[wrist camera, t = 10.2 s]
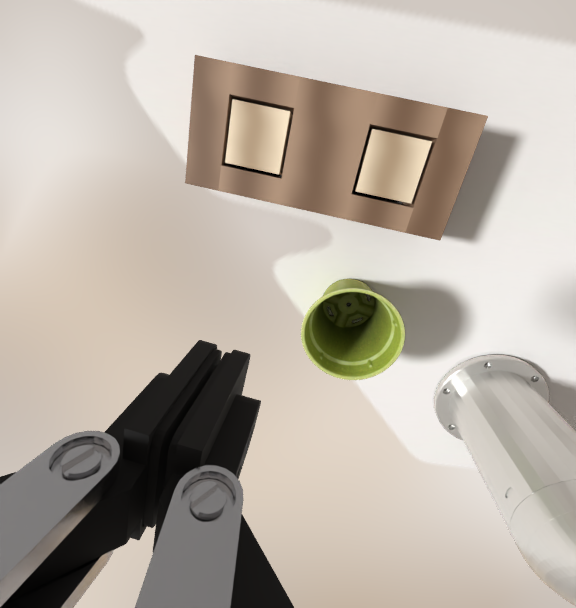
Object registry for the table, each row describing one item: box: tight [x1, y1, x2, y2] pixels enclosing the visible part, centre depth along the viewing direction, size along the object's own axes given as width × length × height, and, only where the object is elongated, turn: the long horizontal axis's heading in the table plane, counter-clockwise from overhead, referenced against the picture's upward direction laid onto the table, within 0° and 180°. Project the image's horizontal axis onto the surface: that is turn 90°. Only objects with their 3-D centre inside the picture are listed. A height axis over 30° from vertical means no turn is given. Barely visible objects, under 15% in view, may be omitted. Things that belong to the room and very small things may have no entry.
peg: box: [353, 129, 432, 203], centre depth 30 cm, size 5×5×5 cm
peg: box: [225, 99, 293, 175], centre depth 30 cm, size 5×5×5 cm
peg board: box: [185, 55, 488, 240], centre depth 30 cm, size 24×10×5 cm, turn 78°
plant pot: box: [301, 279, 405, 380], centre depth 34 cm, size 9×9×9 cm
